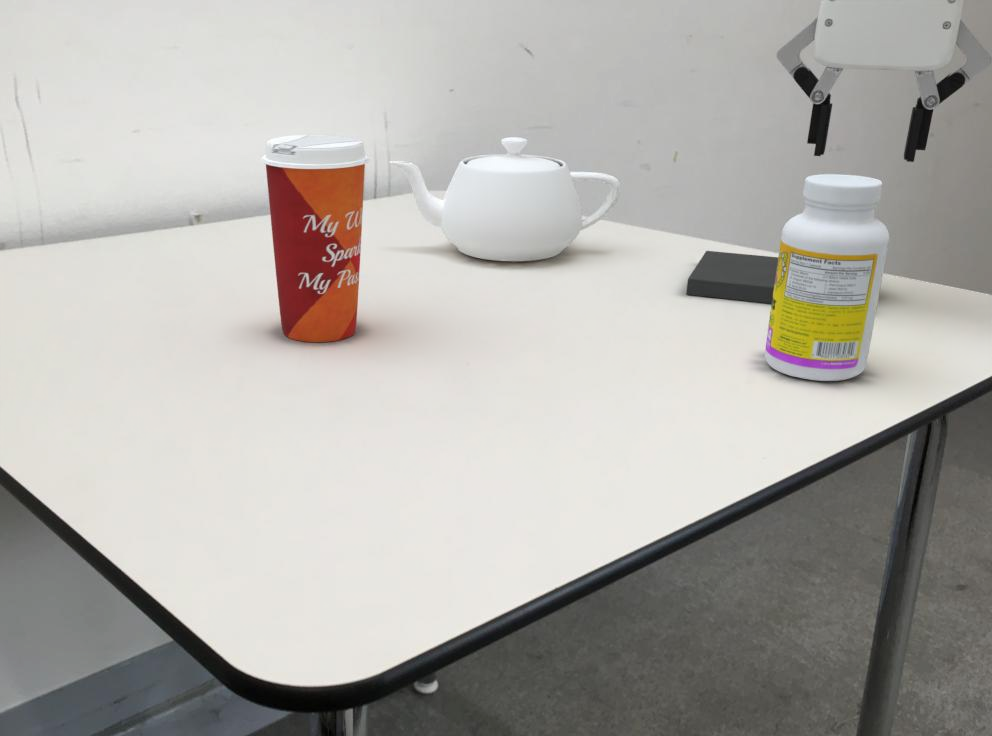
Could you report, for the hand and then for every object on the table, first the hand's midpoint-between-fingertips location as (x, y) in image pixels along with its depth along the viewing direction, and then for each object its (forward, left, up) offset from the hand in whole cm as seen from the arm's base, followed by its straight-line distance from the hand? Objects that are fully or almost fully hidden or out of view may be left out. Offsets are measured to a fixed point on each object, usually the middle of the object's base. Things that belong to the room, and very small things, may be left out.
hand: (863, 154), depth 88 cm
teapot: (+31, -3, -12) cm, 33 cm away
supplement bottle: (+1, +21, -12) cm, 24 cm away
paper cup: (+36, +27, -12) cm, 47 cm away
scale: (+5, 0, -12) cm, 13 cm away
